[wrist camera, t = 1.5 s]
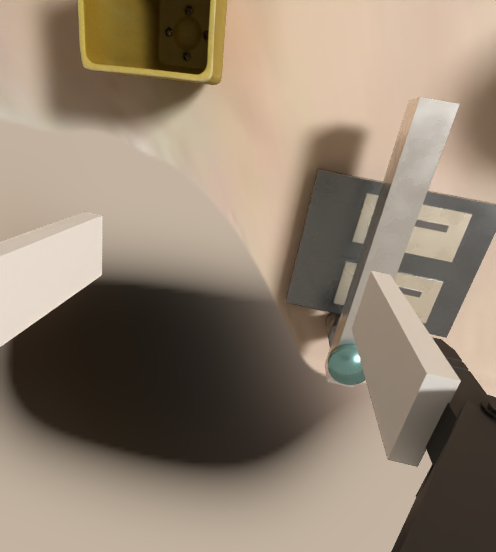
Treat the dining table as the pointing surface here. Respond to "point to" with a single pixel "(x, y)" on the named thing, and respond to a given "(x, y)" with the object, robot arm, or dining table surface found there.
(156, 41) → the flower pot
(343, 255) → the label plate
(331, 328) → the pivot post
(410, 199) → the swing bar
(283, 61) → the dining table surface
